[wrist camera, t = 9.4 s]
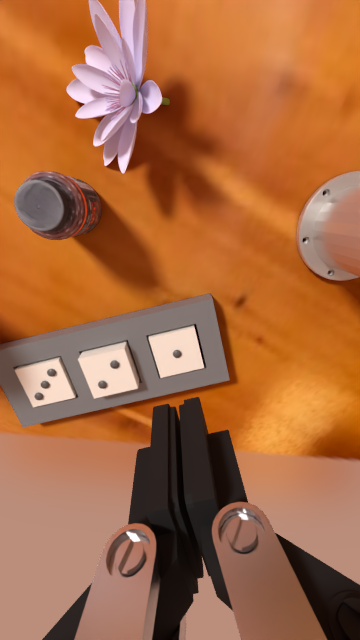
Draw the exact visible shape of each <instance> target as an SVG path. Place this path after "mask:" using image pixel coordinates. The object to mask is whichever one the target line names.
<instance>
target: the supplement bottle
mask: <svg viewBox="0 0 360 640" xmlns="http://www.w3.org/2000/svg"><path fill="white" fill-rule="evenodd" d="M14 204H15V209H16V212H17V214H18V216H19V218H20V219H21V220H22V222H23V223H24V224H26V225H27V226H28V227H29V228H30V229H31V230H32V231H33V232H35V233H36V234H38V235H39V236H41V237H44V238H47V239H51V240H62V239H66V238H70V237H74V236H77V235H80V234H84V233H86V232H89V231H90V230H92V229H93V228H94V227H95V226H96V225H97V224H98V222H99V220H100V217H101V211H102V208H101V202H100V199H99V196H98V195H97V193H96V192H95V190H94V189H93V188H92V187H91V186H90V185H88V184H87V183H85V182H83V181H81V180H78V179H75V178H72V177H69V176H66V175H63V174H60V173H57V172H52V171H41V172H37V173H34V174H32V175H30V176H29V177H28V178H27V179H26V180H25V181H24V182H23V183H22V185H21V186H20V187H19V188H18V190H17V192H16V195H15V201H14Z"/></svg>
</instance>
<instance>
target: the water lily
mask: <svg viewBox="0 0 360 640" xmlns="http://www.w3.org/2000/svg"><path fill="white" fill-rule="evenodd" d="M89 7H90V13H91V18H92V22H93V25H94V28H95V31H96V34H97V36H98V39H99V42H100V44H101V46H102V48H103V49H101V48H100V47H97V46H88V47H87V48H86V49H85V51H84V53H85V54H86V63H87V65H86V64H77V65H74V66H73V67H72V71H73V73H74V74H75V76H76V77H77V78H78V79H75V80H74V81H72V82H71V83H70V84H69V85H68V87H67V89H66V91H67V93H68V94H69V95H70V96H71V97H72V98H73V99H75V100H76V101H78V102H81V103H84V104H85V105H83V106H82V107H81V108H80V109H79V110H78V111H77V113H76V115H75V116H76V117H78V118H96V117H101V116H105V115H106V116H105V117H104V118H103V119H102V120H101V122H100V123H99V125H98V127H97V129H96V132H95V135H94V141H93V145H94V146H99V145H101V144H103V143H105V145H104V153H103V159H104V162H105V164H104V166H107V165H109V164H110V163H111V161H112V160H113V159H114V158H115V156H116V155H117V154H118V164H119V168H120V170H121V172H122V173H123V174H124V173H125V171H126V168H127V166H128V164H129V161H130V158H131V155H132V152H133V148H134V144H135V139H136V131H137V121H138V119H139V118H140V115H141V112H142V113H145V114H149V113H152V112H154V111H155V110H156V109H157V108H158V107H159V106H160V105H161V104H162V105H166V106H168V105H169V104H170V100H169V98H164V97H162V95H161V92H160V89H159V87H158V86H157V84H156V83H155V82H153V81H151V80H147V81H146V82H145V83H144V84H143V85H142V86H141V83H142V79H143V76H144V72H145V67H146V60H147V50H148V18H147V6H146V0H138V1H137V0H119V19H120V29H121V35H122V41H121V38H120V36H119V34H118V32H117V30H116V28H115V26H114V24H113V22H112V20H111V19H110V17H109V15H108V14H107V12H106V11H105V9H104V8H103V6H102V5H101V4H100V2H99V1H98V0H89ZM140 86H141V88H140ZM139 88H140V89H139Z"/></svg>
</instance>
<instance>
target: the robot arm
mask: <svg viewBox="0 0 360 640" xmlns="http://www.w3.org/2000/svg"><path fill="white" fill-rule="evenodd" d="M323 191H324V195H323ZM296 237H297V246H298V250H299V254H300V256H301V258H302V260H303V262H304V263H305V264H306V265H307V267H308V268H309V269H311V270H312V271H313V272H314V273H316V274H318V275H320V276H322V277H324V278H327V279H330V280H337V281H343V280H351V279H355V278H359V277H360V171H355V172H349V173H345V174H341V175H339V176H337V177H335V178H332V179H330V180H329V181H327V182H326V183H325V184H323V185H322V186H320V187H319V188H318V189H317V190H316V191H315V192H314V193H313V194H312V196H311V197H310V199H309V200H308V201H307V203H306V204H305V206H304V208H303V210H302V212H301V215H300V218H299V221H298V225H297V233H296ZM303 238H305V240H304V241H303ZM302 241H303V242H302ZM328 271H329V273H328ZM179 412H180V420H179V417H178V414H177V410H176V407H170V405H169V404H165V405H160V406H156V407H154V408H153V419H152V433H151V446H150V447H147V448H143V449H139V450H138V452H137V458H136V466H135V474H134V482H133V490H132V498H131V506H130V514H129V522H128V525H126V526H124V527H122V528H120V529H119V530H118V531H117V532H115V533H114V534H113V535H112V536H111V538H110V539H109V540H108V542H107V543H106V545H105V547H104V549H103V551H102V554H101V557H100V560H99V563H98V566H97V570H96V573H95V576H94V579H93V582H92V583H91V585H90V586H89V587H88V588H87V589H86V590H85V592H84V593H83V594H82V595H81V596H80V597H79V598H78V599H77V601H76V602H75V603H74V604H73V605H72V606H71V607H70V609H69V610H68V611H67V612H66V613H65V614H64V615H63V617H62V618H61V619H60V620H59V621H58V622H57V624H56V625H55V626H54V627H53V628H52V629H51V630H50V632H49V633H48V634H47V635H46V636H45V637H44V638H43V639H42V640H185V635H186V612H187V610H188V609H189V607H190V606H191V604H192V602H193V594H195V593H198V581H197V579H198V578H203V563H202V557H203V560H204V563H205V566H206V569H207V572H208V575H209V576H211V579H212V582H213V585H214V588H215V591H216V594H217V597H218V598H219V599H220V600H221V601H223V602H224V603H225V604H226V605H227V606H228V607H229V608H230V609H231V610H233V612H234V616H235V619H236V623H237V626H238V630H239V633H240V637H241V640H360V585H359V584H357V583H355V582H354V581H352V580H351V579H349V578H347V577H346V576H344V575H342V574H341V573H339V572H338V571H336V570H334V569H333V568H331V567H330V566H328V565H326V564H325V563H323V562H322V561H320V560H318V559H317V558H315V557H314V556H312V555H310V554H309V553H307V552H305V551H304V550H302V549H301V548H299V547H297V546H296V545H294V544H292V543H291V542H289V541H288V540H286V539H284V538H283V537H281V536H280V535H278V534H276V533H275V532H274V530H273V528H272V526H271V524H270V522H269V520H268V518H267V517H266V515H265V514H264V512H263V511H262V510H260V509H259V508H258V507H257V506H255V505H252V504H250V503H248V501H247V497H246V493H245V490H244V486H243V482H242V478H241V475H240V471H239V467H238V464H237V460H236V456H235V453H234V449H233V445H232V442H231V438H230V434H229V431H228V430H225V431H220V432H216V433H211V434H208V430H207V426H206V422H205V418H204V414H203V411H202V407H201V403H200V399H199V397H196V398H191V399H187V400H184V404H183V405H179Z"/></svg>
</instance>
